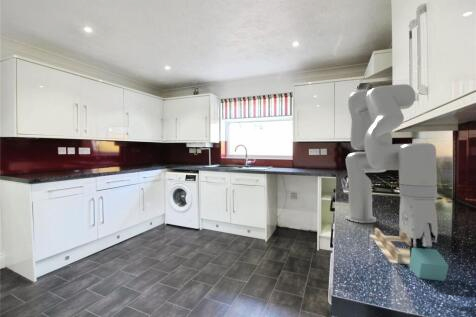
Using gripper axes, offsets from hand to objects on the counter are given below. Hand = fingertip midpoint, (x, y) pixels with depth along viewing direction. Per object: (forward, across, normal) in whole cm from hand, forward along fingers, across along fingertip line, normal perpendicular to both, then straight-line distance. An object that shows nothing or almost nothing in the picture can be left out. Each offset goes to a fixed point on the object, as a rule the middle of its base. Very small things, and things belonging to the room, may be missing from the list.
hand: (418, 262), depth 57 cm
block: (-2, +2, 0) cm, 3 cm away
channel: (+3, -12, 0) cm, 12 cm away
